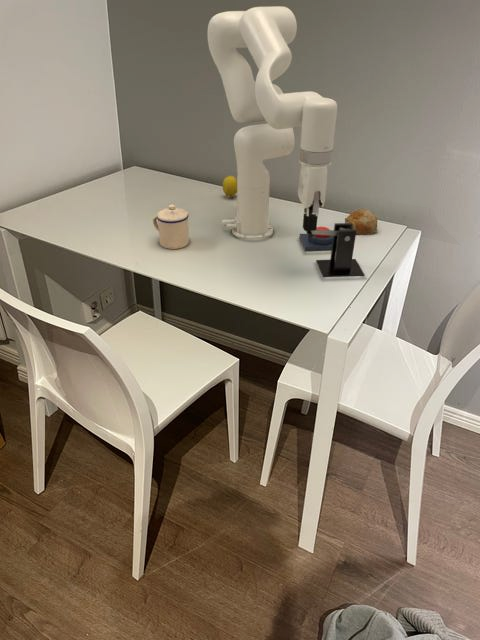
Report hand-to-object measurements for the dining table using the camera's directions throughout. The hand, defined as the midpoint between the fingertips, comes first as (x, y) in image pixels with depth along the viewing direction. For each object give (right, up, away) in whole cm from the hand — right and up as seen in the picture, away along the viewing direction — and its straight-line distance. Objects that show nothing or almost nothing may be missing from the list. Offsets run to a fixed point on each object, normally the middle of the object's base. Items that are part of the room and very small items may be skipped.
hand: (309, 229), depth 125 cm
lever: (+5, -2, +2) cm, 5 cm away
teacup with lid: (-38, 0, +22) cm, 44 cm away
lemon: (-21, +21, +52) cm, 60 cm away
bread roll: (+20, +5, +30) cm, 37 cm away
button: (+6, +2, +18) cm, 19 cm away
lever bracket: (+9, -10, +8) cm, 16 cm away
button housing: (+6, -1, +20) cm, 21 cm away
